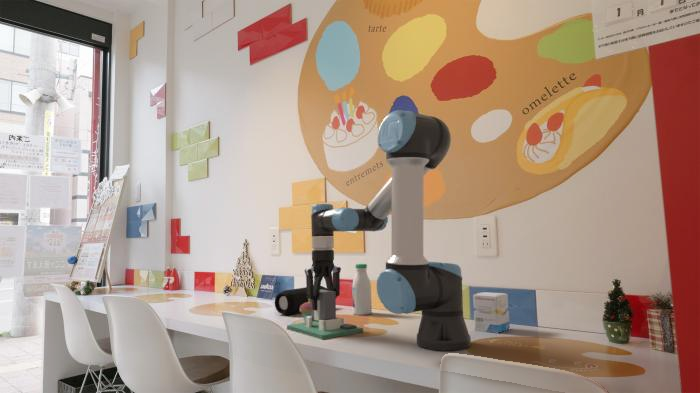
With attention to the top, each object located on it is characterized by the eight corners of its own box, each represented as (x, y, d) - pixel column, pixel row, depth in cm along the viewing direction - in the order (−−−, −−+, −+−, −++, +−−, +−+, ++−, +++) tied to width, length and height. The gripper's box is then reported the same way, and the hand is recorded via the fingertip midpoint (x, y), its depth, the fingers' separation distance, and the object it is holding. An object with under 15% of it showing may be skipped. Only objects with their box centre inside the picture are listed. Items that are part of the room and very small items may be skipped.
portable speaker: (289, 317, 179) (289, 291, 180) (273, 314, 185) (273, 290, 186) (332, 308, 199) (331, 285, 200) (315, 306, 205) (315, 284, 206)
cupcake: (318, 323, 164) (318, 289, 165) (296, 322, 166) (295, 289, 167) (324, 319, 172) (324, 287, 173) (303, 318, 174) (302, 287, 175)
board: (363, 331, 147) (362, 318, 148) (322, 339, 138) (322, 325, 138) (325, 322, 165) (325, 311, 165) (287, 328, 155) (286, 316, 155)
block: (335, 321, 150) (335, 291, 151) (324, 323, 147) (324, 292, 148) (321, 318, 157) (320, 289, 158) (310, 319, 154) (309, 290, 155)
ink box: (510, 329, 147) (508, 293, 148) (498, 333, 140) (497, 295, 141) (485, 326, 152) (484, 291, 153) (473, 330, 146) (472, 294, 147)
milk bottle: (375, 312, 184) (373, 263, 186) (365, 315, 177) (364, 264, 179) (359, 311, 188) (358, 263, 190) (349, 314, 181) (348, 264, 183)
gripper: (337, 248, 162) (338, 314, 160) (294, 250, 151) (295, 320, 149) (349, 248, 156) (351, 317, 154) (306, 250, 145) (307, 324, 143)
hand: (323, 318), depth 151 cm, fingers closed on block, 4 cm apart
